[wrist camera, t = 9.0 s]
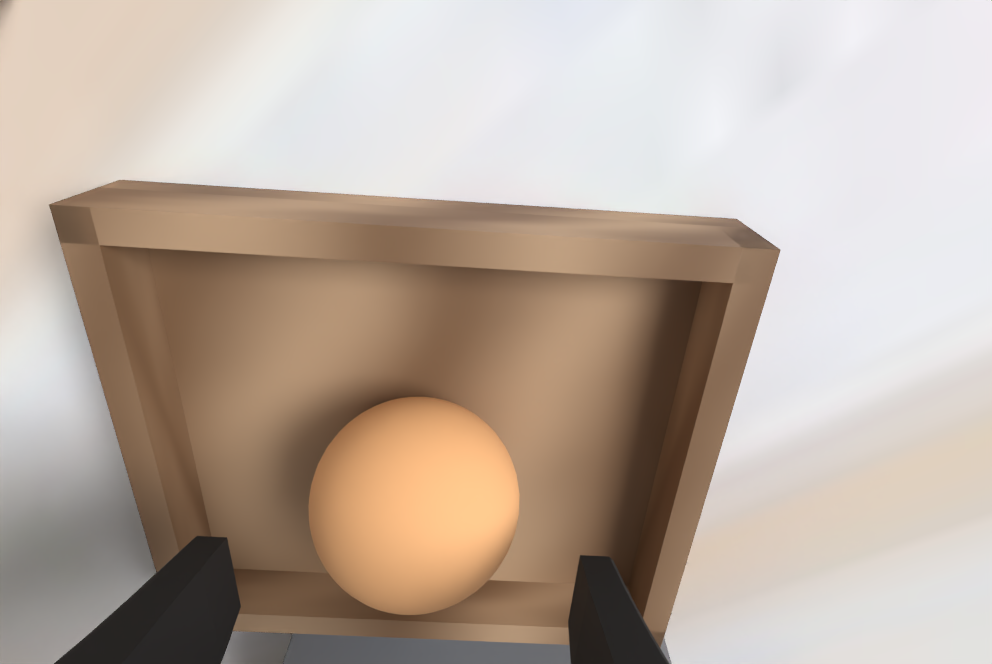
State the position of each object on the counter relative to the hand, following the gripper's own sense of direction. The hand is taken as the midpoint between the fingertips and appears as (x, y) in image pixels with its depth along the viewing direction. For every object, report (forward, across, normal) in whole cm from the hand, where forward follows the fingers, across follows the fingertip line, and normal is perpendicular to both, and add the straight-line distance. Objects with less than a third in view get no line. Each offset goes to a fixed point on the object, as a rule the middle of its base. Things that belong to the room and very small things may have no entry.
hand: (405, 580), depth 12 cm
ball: (+2, 0, 0) cm, 2 cm away
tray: (+6, 0, 0) cm, 6 cm away
